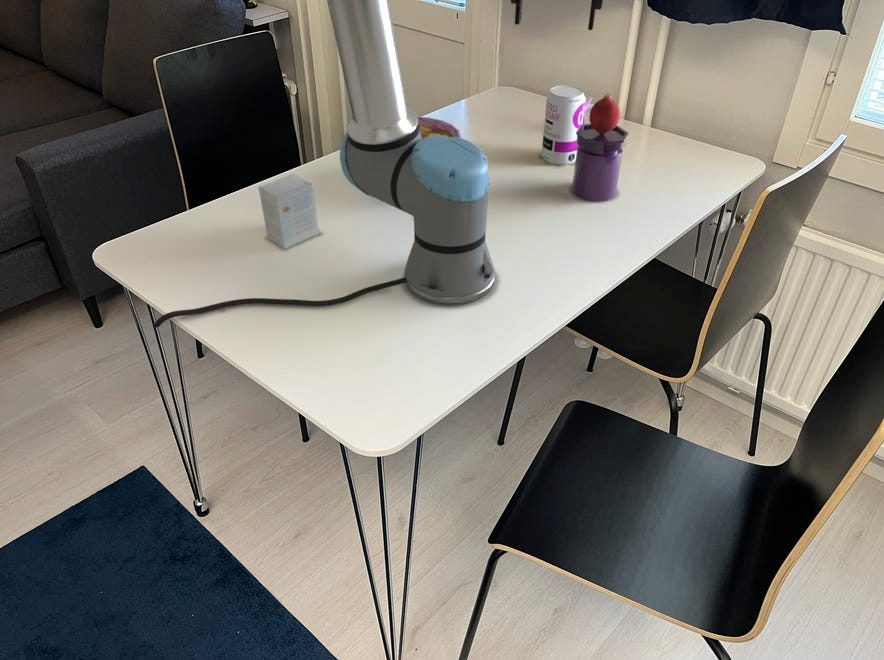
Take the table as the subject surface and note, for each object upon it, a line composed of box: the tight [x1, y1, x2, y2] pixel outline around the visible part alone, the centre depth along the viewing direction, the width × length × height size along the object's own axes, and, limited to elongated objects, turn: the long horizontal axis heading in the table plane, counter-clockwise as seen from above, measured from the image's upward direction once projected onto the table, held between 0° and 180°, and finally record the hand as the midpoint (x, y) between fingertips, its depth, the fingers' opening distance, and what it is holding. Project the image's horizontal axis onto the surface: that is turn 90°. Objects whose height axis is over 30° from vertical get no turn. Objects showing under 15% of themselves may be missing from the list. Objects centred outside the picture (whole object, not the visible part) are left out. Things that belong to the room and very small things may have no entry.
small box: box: [258, 173, 320, 250], centre depth 130 cm, size 8×6×10 cm
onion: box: [588, 92, 621, 135], centre depth 138 cm, size 6×6×8 cm
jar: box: [571, 123, 629, 202], centre depth 145 cm, size 10×10×13 cm
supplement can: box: [541, 84, 586, 166], centre depth 156 cm, size 8×8×15 cm
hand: (553, 25), depth 133 cm, fingers open, 13 cm apart
